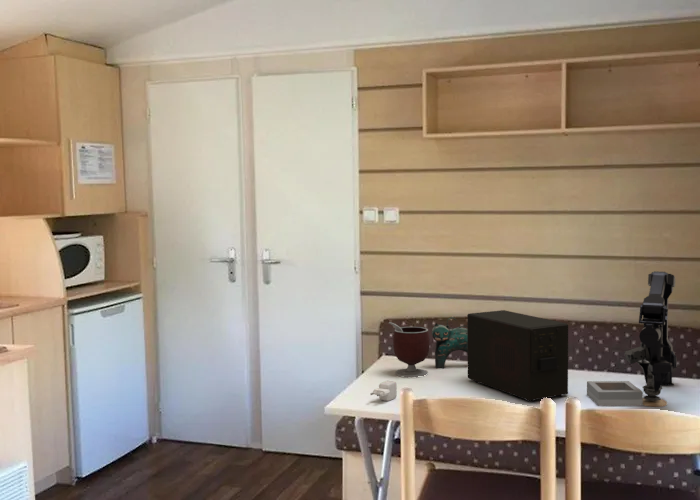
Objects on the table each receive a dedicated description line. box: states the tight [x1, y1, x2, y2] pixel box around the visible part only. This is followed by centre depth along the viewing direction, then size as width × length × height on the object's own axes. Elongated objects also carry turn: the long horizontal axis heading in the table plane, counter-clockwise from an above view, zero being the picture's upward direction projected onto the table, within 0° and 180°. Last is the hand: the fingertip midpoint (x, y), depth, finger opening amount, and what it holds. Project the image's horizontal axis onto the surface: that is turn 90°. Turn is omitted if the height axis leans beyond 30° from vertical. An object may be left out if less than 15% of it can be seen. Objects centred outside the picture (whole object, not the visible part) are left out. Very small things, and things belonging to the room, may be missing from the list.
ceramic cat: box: [431, 317, 468, 369], centre depth 303 cm, size 20×6×20 cm, turn 95°
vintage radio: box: [466, 309, 569, 402], centre depth 269 cm, size 38×20×25 cm, turn 26°
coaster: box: [643, 398, 668, 408], centre depth 249 cm, size 9×9×1 cm
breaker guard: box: [586, 380, 644, 407], centre depth 253 cm, size 14×14×4 cm
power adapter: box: [370, 380, 398, 402], centre depth 256 cm, size 11×5×6 cm, turn 144°
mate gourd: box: [388, 321, 431, 378], centre depth 293 cm, size 16×14×20 cm
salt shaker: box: [642, 366, 663, 401], centre depth 248 cm, size 6×6×12 cm
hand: (652, 387), depth 248 cm, fingers closed on salt shaker, 7 cm apart
